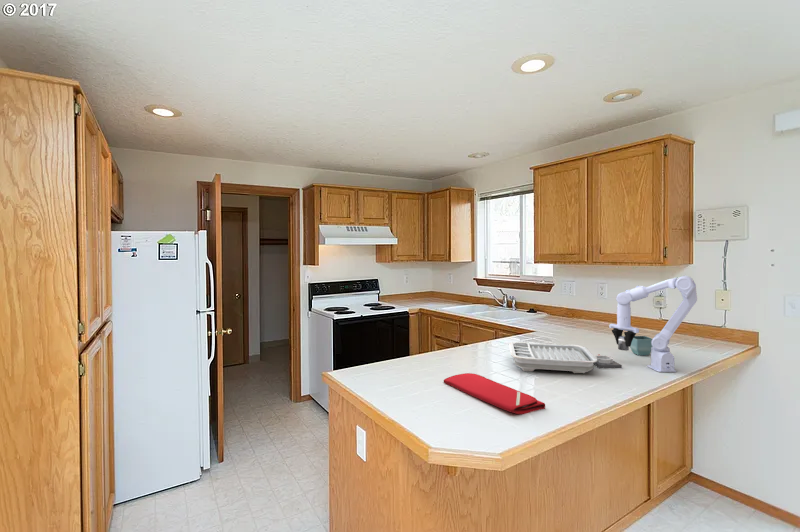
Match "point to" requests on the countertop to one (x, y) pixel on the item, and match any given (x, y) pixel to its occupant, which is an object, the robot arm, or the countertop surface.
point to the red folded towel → (495, 393)
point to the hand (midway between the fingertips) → (623, 345)
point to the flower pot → (641, 345)
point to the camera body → (606, 362)
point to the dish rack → (552, 357)
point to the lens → (622, 343)
